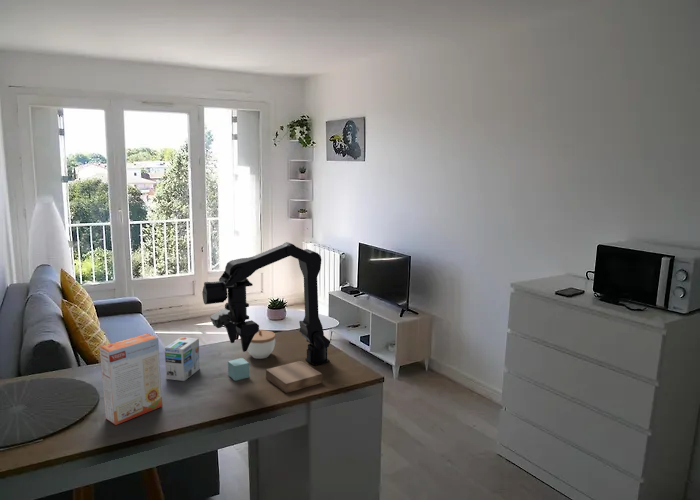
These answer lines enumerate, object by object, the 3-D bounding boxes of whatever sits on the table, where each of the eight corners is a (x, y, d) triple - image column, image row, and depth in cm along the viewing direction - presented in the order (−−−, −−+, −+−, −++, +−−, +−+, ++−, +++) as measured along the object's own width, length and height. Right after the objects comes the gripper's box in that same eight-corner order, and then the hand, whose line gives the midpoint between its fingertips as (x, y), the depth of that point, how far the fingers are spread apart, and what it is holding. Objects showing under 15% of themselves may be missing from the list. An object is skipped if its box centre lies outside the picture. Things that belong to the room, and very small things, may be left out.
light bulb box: (184, 381, 163) (183, 349, 161) (165, 379, 164) (163, 347, 162) (200, 368, 173) (199, 338, 171) (182, 366, 175) (181, 336, 173)
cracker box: (152, 400, 150) (148, 332, 146) (163, 407, 146) (159, 337, 143) (104, 418, 139) (98, 345, 136) (114, 426, 136) (109, 351, 132)
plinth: (300, 369, 174) (300, 360, 174) (321, 382, 164) (321, 373, 163) (266, 378, 166) (265, 369, 166) (286, 393, 156) (286, 383, 156)
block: (242, 372, 171) (242, 357, 170) (249, 377, 167) (248, 362, 166) (228, 375, 168) (228, 361, 167) (234, 381, 164) (234, 366, 163)
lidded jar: (251, 349, 191) (250, 325, 190) (279, 351, 190) (278, 326, 188) (241, 360, 181) (240, 334, 179) (270, 362, 180) (270, 336, 178)
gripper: (201, 297, 166) (203, 343, 169) (225, 311, 151) (226, 362, 154) (233, 292, 172) (235, 337, 175) (259, 305, 158) (260, 354, 160)
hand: (238, 347), depth 166 cm, fingers open, 9 cm apart
